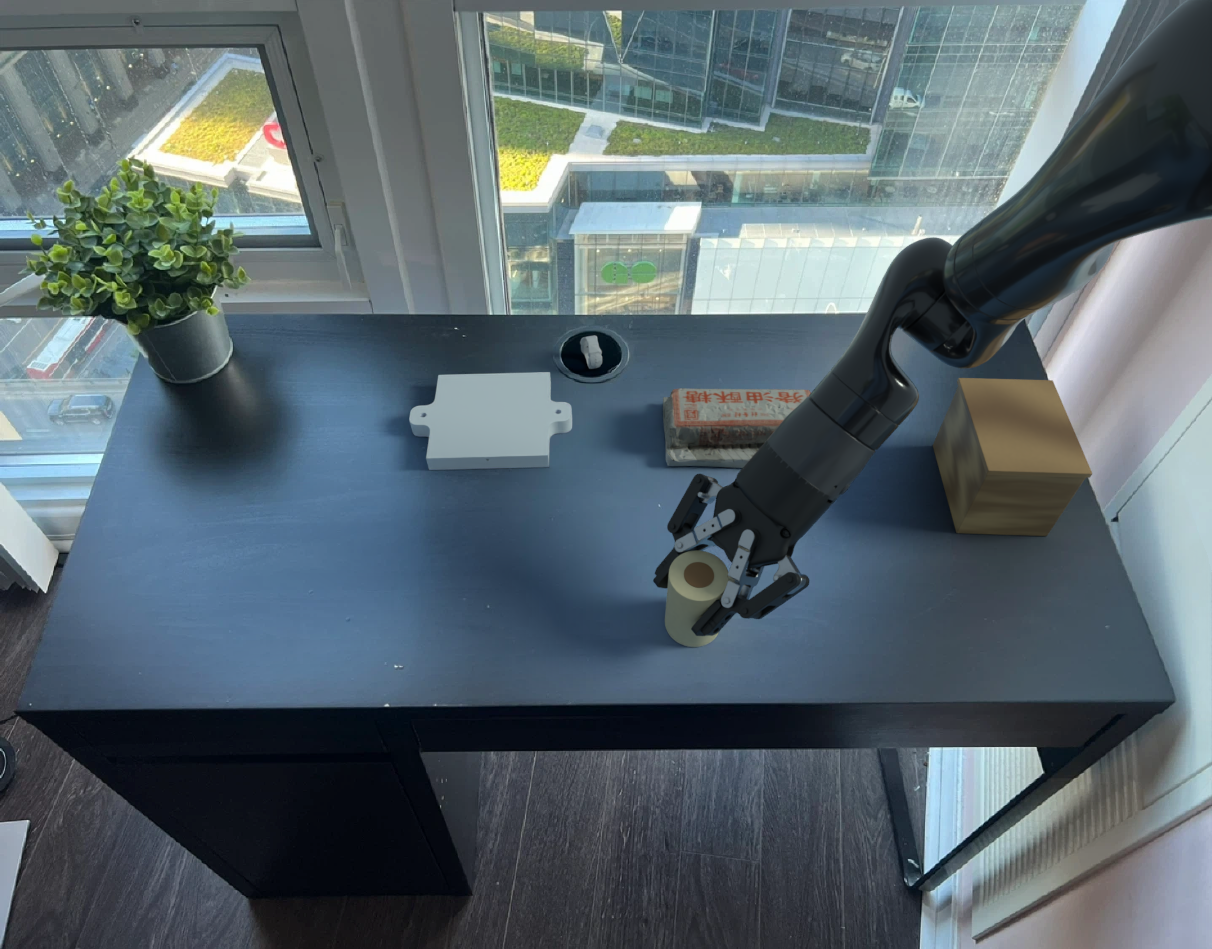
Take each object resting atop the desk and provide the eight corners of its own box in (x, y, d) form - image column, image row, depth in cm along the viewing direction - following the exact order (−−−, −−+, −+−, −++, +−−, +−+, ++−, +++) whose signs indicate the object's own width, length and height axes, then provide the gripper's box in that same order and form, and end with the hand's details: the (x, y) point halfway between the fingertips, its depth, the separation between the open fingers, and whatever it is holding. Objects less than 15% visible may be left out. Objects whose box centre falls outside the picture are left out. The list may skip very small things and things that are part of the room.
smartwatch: (604, 373, 100) (604, 347, 97) (587, 376, 100) (586, 350, 97) (597, 354, 103) (596, 328, 100) (580, 357, 102) (579, 331, 99)
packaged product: (667, 439, 87) (663, 373, 93) (665, 469, 91) (661, 404, 97) (842, 438, 87) (826, 372, 93) (832, 469, 90) (818, 403, 97)
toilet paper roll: (732, 626, 78) (742, 578, 72) (690, 657, 76) (697, 611, 70) (694, 589, 81) (700, 540, 75) (653, 618, 79) (656, 570, 73)
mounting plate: (405, 470, 91) (402, 458, 89) (419, 387, 99) (416, 375, 98) (572, 466, 91) (571, 454, 90) (572, 383, 99) (571, 371, 98)
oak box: (1049, 538, 84) (1093, 473, 77) (954, 535, 85) (988, 470, 77) (1016, 446, 92) (1052, 380, 85) (930, 444, 93) (958, 377, 85)
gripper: (729, 403, 71) (609, 549, 76) (848, 517, 63) (705, 672, 68) (769, 422, 76) (656, 556, 82) (882, 528, 69) (749, 670, 74)
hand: (679, 608), depth 75 cm, fingers closed on toilet paper roll, 5 cm apart
